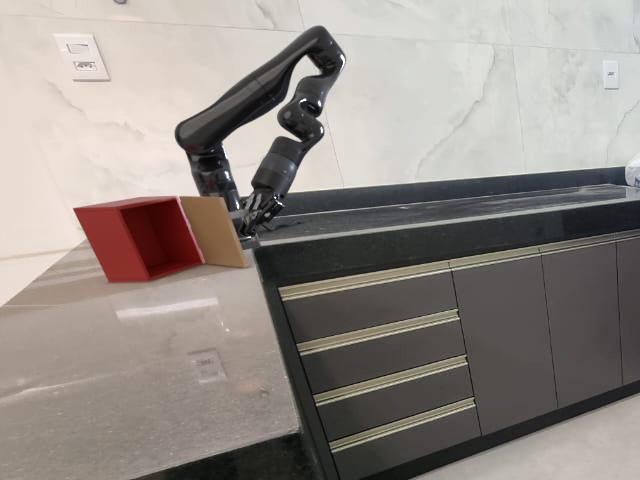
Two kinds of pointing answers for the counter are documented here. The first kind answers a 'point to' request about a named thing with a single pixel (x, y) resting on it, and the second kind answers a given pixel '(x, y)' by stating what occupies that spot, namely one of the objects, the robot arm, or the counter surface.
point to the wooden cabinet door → (217, 230)
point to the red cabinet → (140, 238)
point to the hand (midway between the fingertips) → (245, 235)
